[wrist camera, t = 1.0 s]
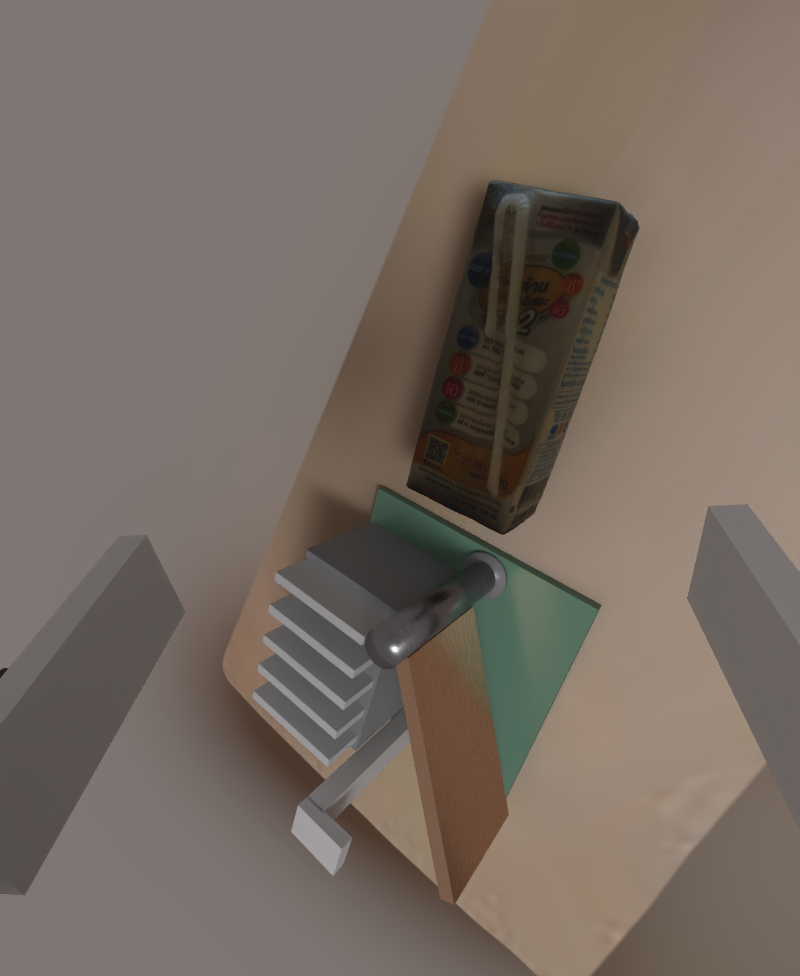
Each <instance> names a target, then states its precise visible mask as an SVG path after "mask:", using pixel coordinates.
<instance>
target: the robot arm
mask: <svg viewBox="0 0 800 976" xmlns="http://www.w3.org/2000/svg"><path fill="white" fill-rule="evenodd" d="M687 599H688V601H689V603H690V605H691V607H692V609H693V611H694V613H695V615H696V617H697V619H698V621H699V623H700V626H701V628H702V630H703V632H704V634H705V636H706V638H707V640H708V642H709V644H710V646H711V648H712V650H713V652H714V654H715V656H716V659H717V661H718V663H719V665H720V667H721V669H722V671H723V673H724V675H725V677H726V679H727V681H728V683H729V685H730V687H731V689H732V692H733V694H734V696H735V698H736V700H737V702H738V704H739V706H740V708H741V710H742V712H743V714H744V716H745V718H746V720H747V722H748V724H749V727H750V729H751V731H752V733H753V735H754V737H755V739H756V741H757V743H758V745H759V747H760V749H761V751H762V753H763V755H764V757H765V760H766V762H767V764H768V766H769V768H770V770H771V772H772V774H773V776H774V778H775V780H776V782H777V784H778V786H779V788H780V790H781V793H782V795H783V797H784V799H785V801H786V803H787V805H788V807H789V809H790V811H791V813H792V815H793V817H794V819H795V821H796V823H797V826H798V828H799V830H800V572H799V571H798V570H797V568H796V567H795V566H794V565H793V563H792V562H791V561H790V559H789V558H788V557H787V555H786V554H785V553H784V552H783V550H782V549H781V548H780V546H779V545H778V544H777V542H776V541H775V540H774V538H773V537H772V536H771V535H770V533H769V532H768V531H767V529H766V528H765V527H764V525H763V524H762V523H761V521H760V520H759V519H758V518H757V516H756V515H755V514H754V512H753V511H752V510H751V508H750V507H749V506H748V504H745V505H726V506H708V510H707V515H706V519H705V524H704V528H703V532H702V537H701V541H700V545H699V550H698V554H697V558H696V563H695V567H694V571H693V576H692V580H691V584H690V589H689V593H688V597H687ZM184 613H185V610H184V608H183V606H182V604H181V602H180V600H179V598H178V596H177V594H176V592H175V590H174V588H173V586H172V584H171V582H170V581H169V578H168V576H167V575H166V573H165V571H164V569H163V567H162V565H161V563H160V561H159V559H158V557H157V555H156V553H155V551H154V549H153V547H152V545H151V543H150V541H149V539H148V537H147V535H135V536H119V537H118V538H117V539H116V540H115V541H114V542H113V544H112V545H111V546H110V547H109V549H108V550H107V551H106V552H105V553H104V554H103V556H102V557H101V558H100V559H99V560H98V562H97V563H96V564H95V565H94V567H93V568H92V569H91V570H90V571H89V573H88V574H87V575H86V576H85V577H84V579H83V580H82V581H81V582H80V583H79V584H78V586H77V587H76V588H75V589H74V590H73V592H72V593H71V594H70V595H69V597H68V598H67V599H66V600H65V601H64V603H63V604H62V605H61V606H60V607H59V608H58V610H57V611H56V612H55V613H54V614H53V616H52V617H51V618H50V619H49V620H48V622H47V623H46V624H45V625H44V626H43V628H42V629H41V630H40V631H39V632H38V634H37V635H36V636H35V637H34V638H33V640H32V641H31V642H30V643H29V644H28V646H27V647H26V648H25V649H24V650H23V652H22V653H21V654H20V655H19V656H18V658H17V659H16V660H15V661H14V662H13V664H12V665H11V666H10V667H9V668H3V669H2V670H0V894H14V895H25V894H26V892H27V891H28V889H29V887H30V885H31V884H32V882H33V880H34V878H35V876H36V874H37V873H38V871H39V869H40V867H41V866H42V864H43V862H44V861H45V859H46V857H47V855H48V853H49V852H50V850H51V848H52V846H53V845H54V843H55V841H56V839H57V838H58V836H59V834H60V832H61V831H62V829H63V827H64V825H65V823H66V822H67V820H68V818H69V816H70V815H71V813H72V811H73V809H74V808H75V806H76V804H77V802H78V800H79V799H80V797H81V795H82V793H83V792H84V790H85V788H86V786H87V785H88V783H89V781H90V779H91V778H92V776H93V773H94V772H95V770H96V769H97V767H98V765H99V763H100V762H101V760H102V758H103V756H104V755H105V753H106V751H107V749H108V747H109V746H110V744H111V742H112V740H113V739H114V737H115V735H116V733H117V732H118V730H119V728H120V726H121V725H122V723H123V721H124V719H125V717H126V716H127V714H128V712H129V710H130V709H131V707H132V705H133V703H134V701H135V700H136V698H137V696H138V694H139V693H140V691H141V689H142V687H143V685H144V684H145V682H146V680H147V679H148V677H149V675H150V673H151V672H152V670H153V668H154V666H155V664H156V663H157V661H158V659H159V657H160V656H161V654H162V652H163V650H164V649H165V647H166V645H167V643H168V641H169V640H170V638H171V636H172V634H173V633H174V631H175V629H176V627H177V626H178V624H179V622H180V620H181V618H182V617H183V615H184Z"/></svg>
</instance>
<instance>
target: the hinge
mask: <svg viewBox="0 0 800 976" xmlns="http://www.w3.org/2000/svg"><path fill="white" fill-rule="evenodd" d="M495 583H496V579H495V575H494V572H493V571H492V569H491V568H490V567H489V566H488V565H486V564H484V563H482V562H474V563H472V564H470V565H469V566H467V567H466V568H464V569H463V570H461V571H460V572H458V573H456V574H455V575H453V576H452V577H450V578H449V579H447V580H446V581H444V582H443V583H441V584H440V585H438V586H437V587H435V588H434V589H432V590H431V591H429V592H427V593H426V594H424V595H423V596H421V597H420V598H418V599H417V600H415V601H414V602H412V603H411V604H409V605H408V606H406V607H405V608H403V609H402V610H400V611H399V612H397V613H395V614H394V615H392V616H391V617H389V618H388V619H386V620H385V621H383V622H382V623H380V624H379V625H377V626H376V627H374V628H373V629H371V630H370V631H368V633H367V634H366V637H365V648H366V651H367V654H368V656H369V657H370V659H371V660H372V661H373V662H374V664H376V665H377V666H378V667H380V668H382V669H386V670H390V669H393V668H394V667H396V668H397V673H398V679H399V684H400V689H401V694H402V700H403V705H404V710H405V716H406V721H407V726H408V731H409V737H410V742H411V747H412V752H413V758H414V763H415V768H416V774H417V779H418V784H419V789H420V795H421V800H422V805H423V810H424V816H425V821H426V826H427V832H428V837H429V842H430V847H431V853H432V858H433V863H434V869H435V874H436V879H437V884H438V890H439V894H440V899H442V900H444V901H446V902H448V903H451V904H453V905H455V903H456V901H457V900H458V898H459V896H460V895H461V893H462V891H463V890H464V888H465V886H466V885H467V883H468V881H469V880H470V878H471V876H472V875H473V873H474V871H475V870H476V868H477V866H478V865H479V863H480V861H481V860H482V858H483V856H484V855H485V853H486V851H487V850H488V848H489V846H490V845H491V843H492V842H493V840H494V838H495V837H496V835H497V833H498V832H499V830H500V828H501V827H502V825H503V823H504V822H505V820H506V818H507V817H508V815H509V813H508V807H507V801H506V795H505V789H504V783H503V778H502V772H501V766H500V760H499V754H498V748H497V742H496V736H495V731H494V725H493V719H492V713H491V707H490V701H489V695H488V690H487V684H486V678H485V672H484V666H483V660H482V654H481V648H480V643H479V637H478V631H477V625H476V619H475V613H474V607H473V605H474V604H475V603H476V602H478V601H479V600H480V599H481V598H483V597H484V596H485V595H487V594H488V593H489V592H490V591H492V590H493V588H494V586H495Z"/></svg>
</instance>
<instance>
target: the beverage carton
mask: <svg viewBox="0 0 800 976" xmlns="http://www.w3.org/2000/svg"><path fill="white" fill-rule="evenodd" d="M638 230H639V225H638V221H637V220H636V219H635V218H634V217H633V215H631V214H630V213H628V212H627V211H626V210H625V208H624V207H623V206H622V205H621V204H620V203H619V202H615V201H609V200H604V199H599V198H592V197H585V196H580V195H574V194H568V193H561V192H553V191H549V190H545V189H541V188H537V187H531V186H526V185H521V184H516V183H510V182H504V181H491V182H490V183H489V185H488V189H487V193H486V196H485V200H484V203H483V207H482V210H481V213H480V217H479V220H478V223H477V225H476V229H475V233H474V238H473V242H472V245H471V248H470V251H469V255H468V258H467V261H466V265H465V269H464V273H463V277H462V280H461V284H460V287H459V291H458V294H457V298H456V301H455V305H454V309H453V312H452V315H451V320H450V324H449V327H448V331H447V335H446V338H445V341H444V345H443V348H442V352H441V356H440V359H439V363H438V366H437V370H436V374H435V378H434V382H433V386H432V389H431V393H430V396H429V400H428V404H427V408H426V412H425V416H424V419H423V423H422V426H421V430H420V434H419V438H418V442H417V446H416V449H415V453H414V457H413V461H412V465H411V470H410V475H409V478H408V481H407V487H408V488H410V489H412V490H414V491H416V492H418V493H420V494H422V495H424V496H427V497H428V498H430V499H432V500H434V501H435V502H437V503H440V504H442V505H443V506H445V507H447V508H449V509H451V510H453V511H455V512H457V513H459V514H462V515H464V516H466V517H469V518H471V519H473V520H475V521H477V522H478V523H480V524H482V525H483V526H485V527H487V528H489V529H491V530H493V531H495V532H497V533H500V534H506V533H508V532H509V531H511V530H513V529H514V528H516V527H517V526H518V525H519V524H521V523H522V522H524V521H525V520H526V519H528V518H529V517H530V516H532V515H533V514H534V513H535V510H536V507H537V505H538V503H539V501H540V499H541V497H542V494H543V492H544V489H545V487H546V484H547V481H548V479H549V476H550V474H551V471H552V468H553V466H554V463H555V460H556V458H557V455H558V453H559V450H560V447H561V445H562V442H563V439H564V437H565V434H566V431H567V428H568V425H569V422H570V420H571V418H572V415H573V412H574V409H575V407H576V404H577V401H578V399H579V396H580V393H581V390H582V387H583V385H584V382H585V379H586V377H587V374H588V371H589V368H590V366H591V363H592V360H593V358H594V355H595V352H596V350H597V347H598V344H599V342H600V339H601V336H602V333H603V330H604V327H605V325H606V322H607V319H608V316H609V313H610V311H611V308H612V305H613V302H614V299H615V296H616V293H617V290H618V287H619V284H620V280H621V277H622V274H623V270H624V267H625V265H626V262H627V260H628V257H629V254H630V251H631V248H632V245H633V243H634V240H635V238H636V235H637V233H638Z"/></svg>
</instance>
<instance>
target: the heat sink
mask: <svg viewBox="0 0 800 976" xmlns="http://www.w3.org/2000/svg"><path fill="white" fill-rule="evenodd" d="M474 562H482V563H484V564H486V565H488V566H489V567H490V568H491V569H492V571H493V572H494V575H495V579H496V583H495V586H494V588H493V590H492V591H490V592H489V593H488V594H487V595H485V596H484V597H483V598H481V599H480V600H479V601H478V602H476V603H475V604H474V605H473V607H474V613H475V619H476V625H477V631H478V637H479V643H480V648H481V654H482V660H483V666H484V672H485V678H486V684H487V690H488V695H489V701H490V707H491V713H492V719H493V725H494V731H495V736H496V742H497V748H498V754H499V760H500V766H501V772H502V778H503V783H504V789H505V795H506V797H507V795H508V793H509V791H510V789H511V787H512V785H513V783H514V781H515V779H516V777H517V775H518V773H519V771H520V769H521V767H522V765H523V763H524V761H525V759H526V757H527V755H528V753H529V751H530V749H531V747H532V745H533V743H534V741H535V739H536V737H537V735H538V733H539V731H540V729H541V727H542V725H543V723H544V721H545V719H546V717H547V715H548V713H549V711H550V708H551V706H552V704H553V702H554V700H555V698H556V696H557V694H558V692H559V690H560V688H561V686H562V684H563V682H564V680H565V678H566V676H567V674H568V672H569V670H570V668H571V666H572V664H573V662H574V660H575V658H576V656H577V654H578V652H579V650H580V648H581V646H582V644H583V642H584V640H585V638H586V636H587V634H588V632H589V630H590V628H591V626H592V624H593V622H594V620H595V618H596V615H597V613H598V611H599V609H600V607H601V605H600V604H598V603H596V602H594V601H592V600H590V599H589V598H587V597H585V596H583V595H581V594H579V593H578V592H576V591H574V590H572V589H570V588H569V587H567V586H565V585H563V584H561V583H559V582H558V581H556V580H554V579H552V578H550V577H548V576H547V575H545V574H543V573H541V572H539V571H537V570H536V569H534V568H532V567H530V566H528V565H527V564H525V563H523V562H521V561H519V560H517V559H516V558H514V557H512V556H510V555H508V554H506V553H505V552H503V551H501V550H499V549H497V548H496V547H494V546H492V545H490V544H488V543H486V542H485V541H483V540H481V539H479V538H477V537H475V536H474V535H472V534H470V533H468V532H466V531H464V530H463V529H461V528H459V527H457V526H455V525H454V524H452V523H450V522H448V521H446V520H444V519H443V518H441V517H439V516H437V515H435V514H433V513H432V512H430V511H428V510H426V509H424V508H422V507H421V506H419V505H417V504H415V503H413V502H412V501H410V500H408V499H406V498H404V497H402V496H401V495H399V494H397V493H395V492H393V491H391V490H390V489H388V488H386V487H381V488H378V491H377V495H376V499H375V503H374V507H373V511H372V514H371V518H370V522H369V525H367V526H364V527H362V528H359V529H357V530H354V531H352V532H349V533H347V534H344V535H342V536H339V537H337V538H334V539H332V540H329V541H327V542H324V543H322V544H319V545H317V546H314V547H312V548H309V549H307V550H306V555H305V560H303V561H301V562H298V563H296V564H294V565H291V566H289V567H286V568H284V569H282V570H279V571H277V572H276V574H275V579H274V580H275V581H276V582H277V583H279V584H280V585H281V586H283V587H284V588H285V589H287V590H288V591H289V592H291V593H292V594H290V595H288V596H286V597H284V598H282V599H280V600H278V601H276V602H274V603H272V604H270V606H269V613H270V614H271V615H272V616H274V617H275V618H276V619H278V620H279V621H280V622H281V623H283V624H284V625H282V626H280V627H278V628H276V629H274V630H272V631H270V632H269V633H267V634H265V635H264V639H263V643H264V644H265V645H267V646H268V647H269V648H270V649H271V650H272V651H274V652H275V653H276V654H275V655H273V656H271V657H269V658H268V659H266V660H264V661H263V662H261V663H259V665H258V672H259V673H261V674H262V675H263V676H264V677H265V678H266V679H267V680H268V681H269V682H267V683H266V684H264V685H262V686H261V687H259V688H258V689H256V690H255V691H254V692H253V699H254V700H256V701H257V702H258V703H259V704H260V705H261V706H262V707H263V708H264V709H265V710H266V711H267V712H268V713H270V714H271V715H272V716H273V717H274V718H275V719H276V720H277V721H278V722H279V723H280V724H281V725H282V726H284V727H285V728H286V729H287V730H288V731H289V732H290V733H291V734H292V735H293V736H294V737H295V738H296V739H298V740H299V741H300V742H301V743H302V744H303V745H304V746H305V747H306V748H307V749H308V750H309V751H310V752H312V753H313V754H314V755H315V756H316V757H317V758H318V759H319V760H320V761H321V762H322V763H323V764H324V765H326V766H327V767H328V766H329V765H330V764H331V763H333V762H334V761H335V760H336V759H337V758H338V757H339V756H340V755H341V754H343V753H344V752H345V751H346V750H347V749H348V748H349V747H350V746H351V747H352V748H353V749H354V750H357V749H358V748H359V747H360V746H361V745H362V744H363V743H365V742H366V741H367V740H368V739H369V738H370V737H371V736H372V735H373V734H374V733H375V732H377V731H378V730H379V729H380V728H381V727H382V726H383V725H384V724H385V723H386V722H387V721H389V720H390V719H391V720H390V721H389V722H388V723H387V724H386V725H385V726H384V727H383V728H382V729H381V730H379V731H378V732H377V733H376V734H375V735H374V736H373V737H372V738H371V739H370V740H369V741H367V742H366V743H365V744H364V745H363V746H362V747H361V748H360V749H359V750H358V751H357V752H355V753H354V754H353V755H352V756H351V757H350V758H349V759H348V760H347V761H346V762H345V763H344V764H342V765H341V766H340V767H339V768H338V769H337V770H336V771H335V772H334V773H333V774H332V775H330V776H329V777H328V778H327V779H326V780H325V781H324V782H323V783H322V784H321V785H320V786H319V787H318V788H316V789H315V790H314V791H313V792H312V793H311V794H310V795H309V796H308V797H307V798H306V799H304V800H303V801H302V802H301V803H300V804H299V805H298V808H297V811H296V816H295V819H294V823H293V827H292V833H293V834H294V835H295V836H296V837H297V838H298V839H299V840H300V841H301V842H302V843H303V845H304V846H305V847H306V848H307V849H308V850H309V851H310V852H311V853H312V854H313V855H314V856H315V857H316V858H317V859H318V860H319V861H320V863H321V864H322V865H324V867H325V868H326V869H327V870H328V871H329V872H330V873H331V874H332V875H334V874H335V873H336V872H337V871H338V869H339V868H340V867H341V866H342V865H343V863H344V860H345V857H346V854H347V851H348V848H349V845H350V842H351V839H352V838H351V837H350V836H349V835H348V834H347V833H346V832H345V831H344V830H343V829H342V828H341V827H340V826H339V825H338V824H337V823H336V822H335V821H334V819H335V818H336V817H337V816H338V815H339V814H340V813H341V812H342V811H343V810H344V809H345V807H347V806H348V805H349V804H350V802H351V801H352V800H353V799H354V798H355V797H356V796H357V795H358V794H359V793H360V792H361V791H362V790H363V789H364V788H365V787H366V786H367V785H368V784H369V783H370V782H371V781H372V780H373V779H374V778H375V777H376V776H377V775H378V774H379V773H380V772H381V771H382V770H383V769H384V768H385V767H386V766H387V765H388V764H389V763H390V762H391V760H392V759H393V758H394V757H395V756H396V755H397V754H398V753H399V752H400V751H401V750H402V749H403V748H404V747H405V746H406V745H407V744H408V743H409V742H410V737H409V731H408V726H407V721H406V716H405V710H404V705H403V700H402V694H401V689H400V684H399V679H398V673H397V668H396V667H394V668H393V669H390V670H386V669H382V668H380V667H378V666H377V665H376V664H374V662H373V661H372V660H371V659H370V657H369V656H368V654H367V651H366V648H365V637H366V634H367V633H368V631H370V630H371V629H373V628H374V627H376V626H377V625H379V624H380V623H382V622H383V621H385V620H386V619H388V618H389V617H391V616H392V615H394V614H395V613H397V612H399V611H400V610H402V609H403V608H405V607H406V606H408V605H409V604H411V603H412V602H414V601H415V600H417V599H418V598H420V597H421V596H423V595H424V594H426V593H427V592H429V591H431V590H432V589H434V588H435V587H437V586H438V585H440V584H441V583H443V582H444V581H446V580H447V579H449V578H450V577H452V576H453V575H455V574H456V573H458V572H460V571H461V570H463V569H464V568H466V567H467V566H469V565H470V564H472V563H474Z"/></svg>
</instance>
